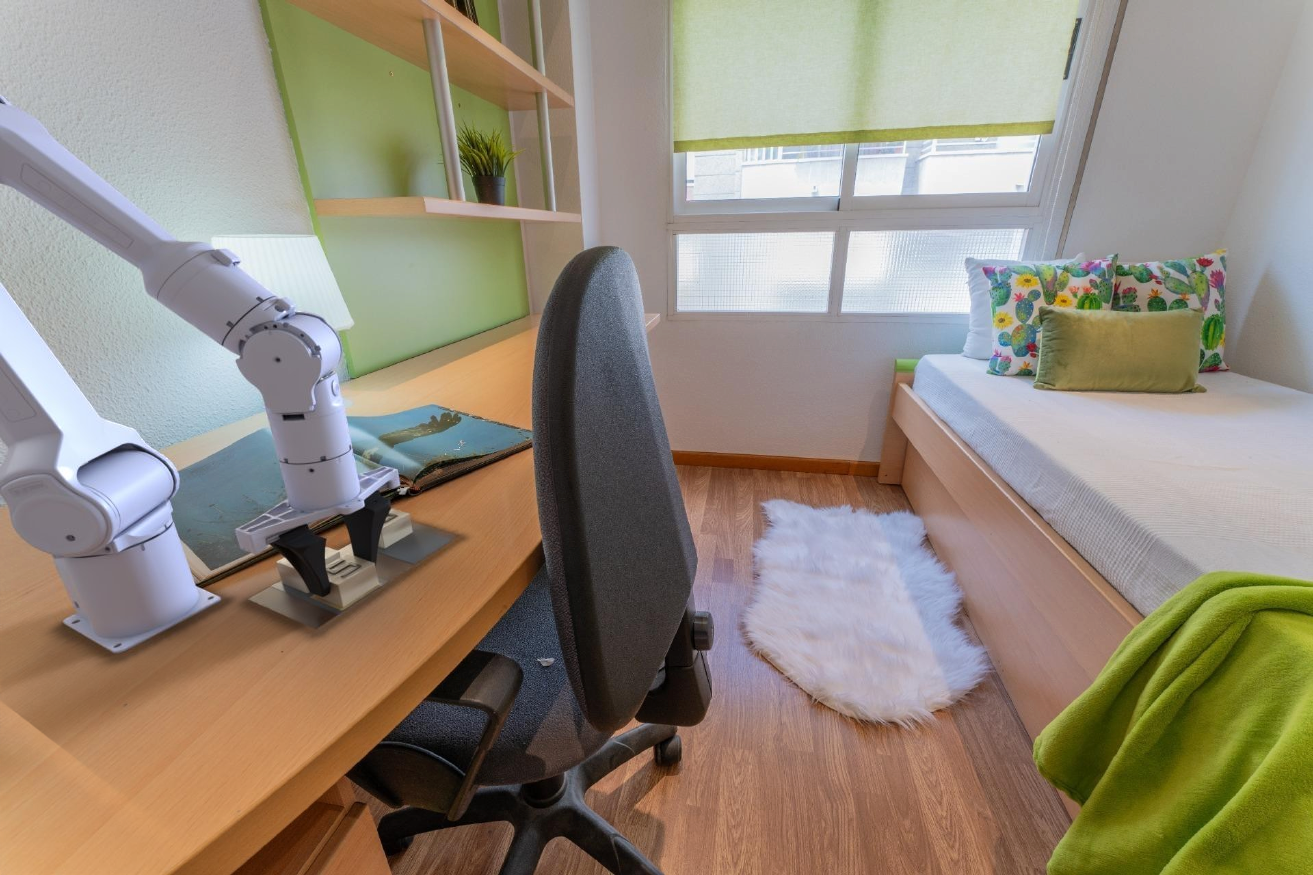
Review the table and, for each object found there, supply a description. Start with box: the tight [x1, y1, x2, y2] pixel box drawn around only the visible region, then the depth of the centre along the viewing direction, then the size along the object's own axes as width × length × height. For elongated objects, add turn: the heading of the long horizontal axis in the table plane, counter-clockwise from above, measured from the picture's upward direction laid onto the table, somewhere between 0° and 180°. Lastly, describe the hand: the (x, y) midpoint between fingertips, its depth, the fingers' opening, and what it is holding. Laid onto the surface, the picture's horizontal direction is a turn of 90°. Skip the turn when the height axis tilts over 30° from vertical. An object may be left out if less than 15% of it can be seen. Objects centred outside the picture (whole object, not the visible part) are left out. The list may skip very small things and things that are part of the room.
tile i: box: [275, 546, 341, 593], centre depth 54 cm, size 4×4×3 cm
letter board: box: [247, 520, 460, 630], centre depth 57 cm, size 10×18×1 cm, turn 156°
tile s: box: [315, 554, 379, 607], centre depth 52 cm, size 4×4×3 cm
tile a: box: [378, 507, 412, 549], centre depth 61 cm, size 4×4×3 cm
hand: (344, 578), depth 52 cm, fingers open, 4 cm apart
